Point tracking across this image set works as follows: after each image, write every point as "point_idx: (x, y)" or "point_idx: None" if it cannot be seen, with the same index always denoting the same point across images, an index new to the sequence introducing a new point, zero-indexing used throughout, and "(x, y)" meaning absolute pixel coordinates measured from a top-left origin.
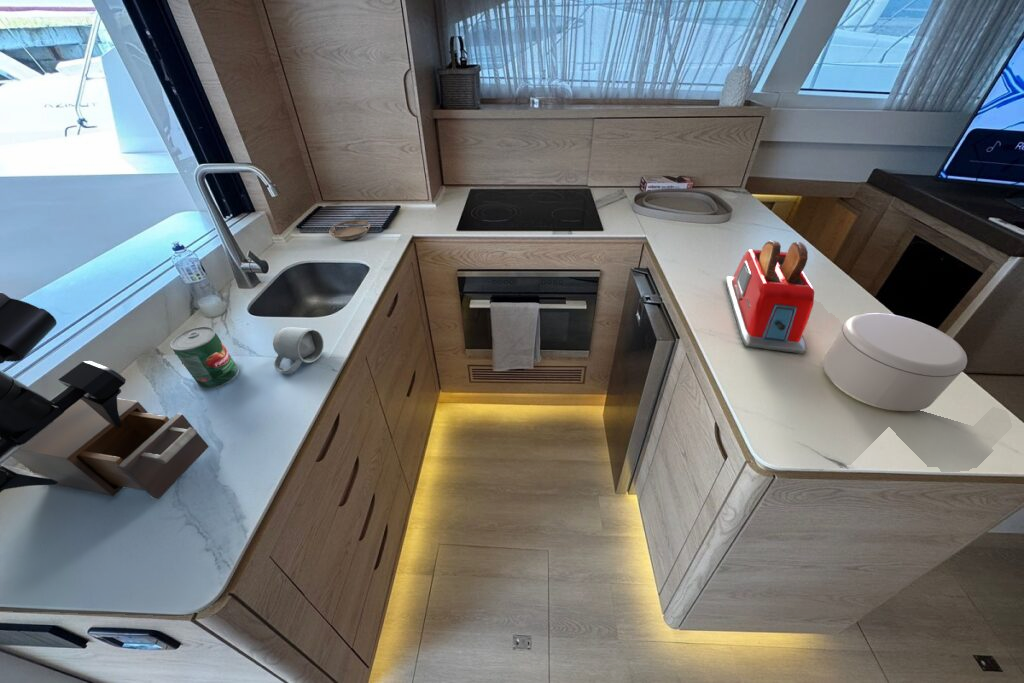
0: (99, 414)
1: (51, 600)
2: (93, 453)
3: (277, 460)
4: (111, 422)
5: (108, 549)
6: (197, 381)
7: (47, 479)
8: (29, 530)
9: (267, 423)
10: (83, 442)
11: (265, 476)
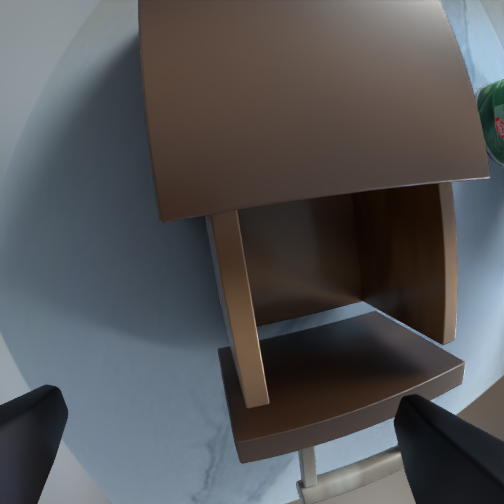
0: (464, 462)
1: (12, 349)
2: (241, 264)
3: (367, 457)
4: (415, 463)
5: (99, 356)
6: (490, 109)
7: (43, 483)
8: (57, 117)
9: None
10: (268, 187)
11: (334, 469)
